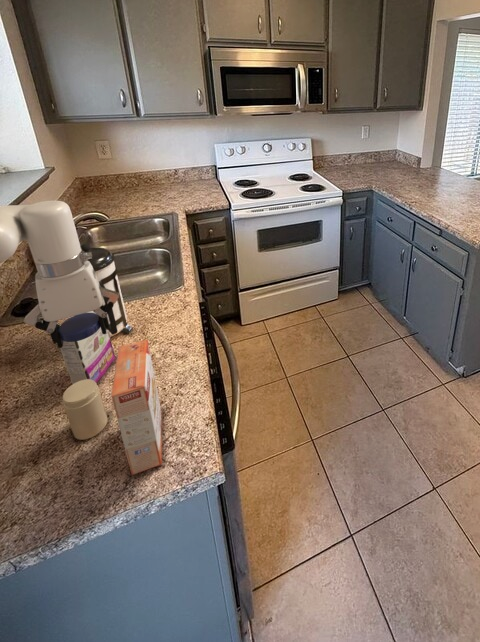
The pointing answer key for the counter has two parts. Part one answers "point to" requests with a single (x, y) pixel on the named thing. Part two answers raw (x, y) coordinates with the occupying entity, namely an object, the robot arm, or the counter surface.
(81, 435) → the jar
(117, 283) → the coffee press
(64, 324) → the jar lid
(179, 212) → the counter surface
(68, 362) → the candy bar box
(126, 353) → the cracker box
